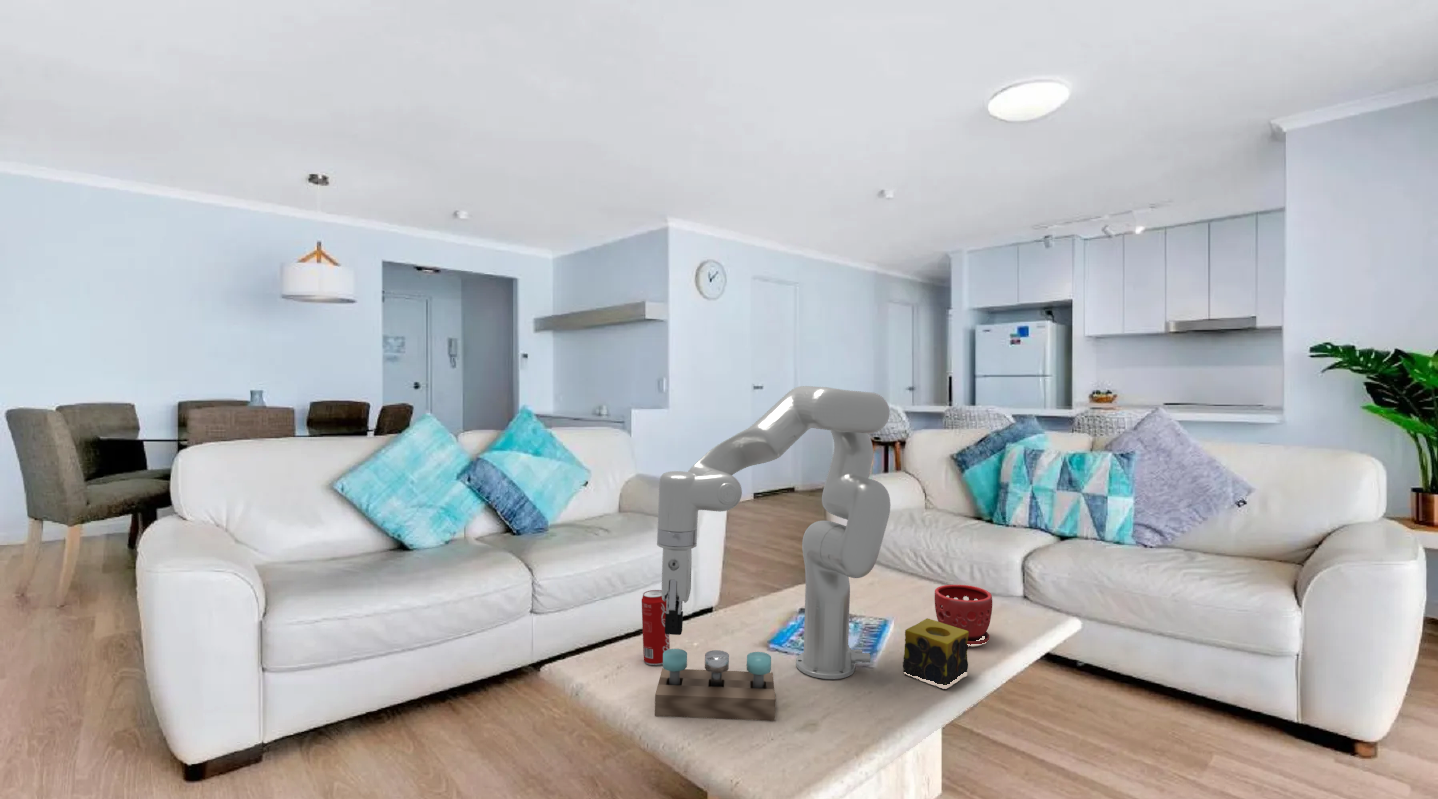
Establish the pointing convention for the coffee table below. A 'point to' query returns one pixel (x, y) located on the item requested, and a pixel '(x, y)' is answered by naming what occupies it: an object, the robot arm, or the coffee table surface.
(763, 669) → the teal knob
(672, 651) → the teal knob
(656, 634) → the beverage can
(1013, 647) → the coffee table surface
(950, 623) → the plant pot
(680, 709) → the walnut mount
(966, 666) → the tissue box cover
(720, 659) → the steel knob middle
